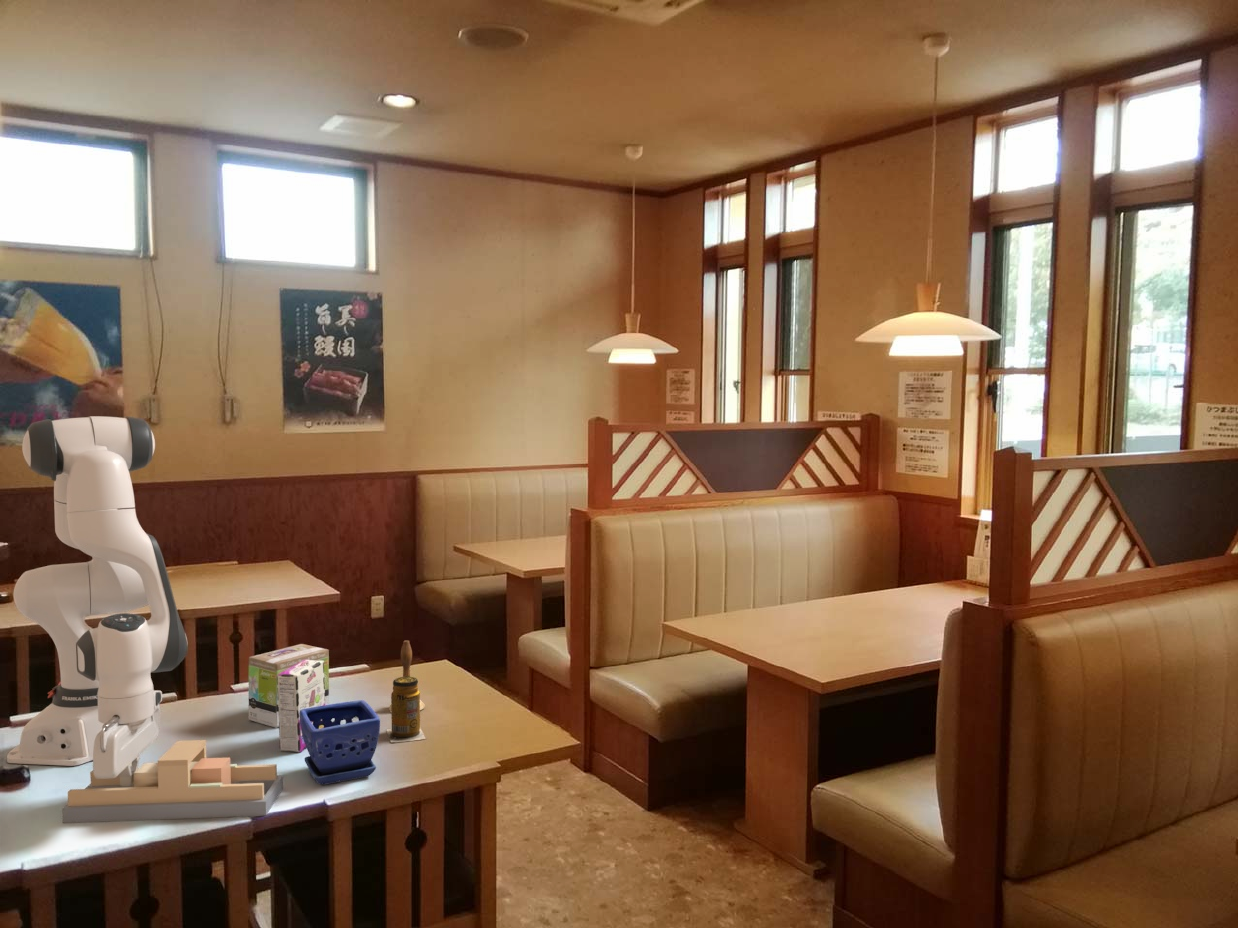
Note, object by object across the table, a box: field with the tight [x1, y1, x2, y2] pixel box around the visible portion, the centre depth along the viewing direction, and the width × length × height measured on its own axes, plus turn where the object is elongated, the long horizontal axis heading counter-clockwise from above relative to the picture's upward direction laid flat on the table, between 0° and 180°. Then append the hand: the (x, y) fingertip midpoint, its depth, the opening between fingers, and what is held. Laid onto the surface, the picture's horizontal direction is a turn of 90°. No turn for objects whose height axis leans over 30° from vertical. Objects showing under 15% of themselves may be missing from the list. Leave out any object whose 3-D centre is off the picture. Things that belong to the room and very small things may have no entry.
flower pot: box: [299, 699, 381, 785], centre depth 185 cm, size 13×13×12 cm
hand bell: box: [388, 639, 426, 712], centre depth 223 cm, size 8×8×16 cm
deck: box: [61, 739, 284, 824], centre depth 170 cm, size 34×12×10 cm, turn 95°
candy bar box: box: [277, 660, 325, 753], centre depth 200 cm, size 11×5×16 cm, turn 168°
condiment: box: [386, 676, 427, 743], centre depth 205 cm, size 7×8×12 cm
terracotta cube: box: [192, 757, 231, 784], centre depth 170 cm, size 5×5×5 cm
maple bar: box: [134, 762, 198, 787], centre depth 170 cm, size 10×4×4 cm, turn 95°
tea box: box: [248, 643, 330, 729], centre depth 218 cm, size 15×10×15 cm
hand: (128, 782), depth 170 cm, fingers closed
